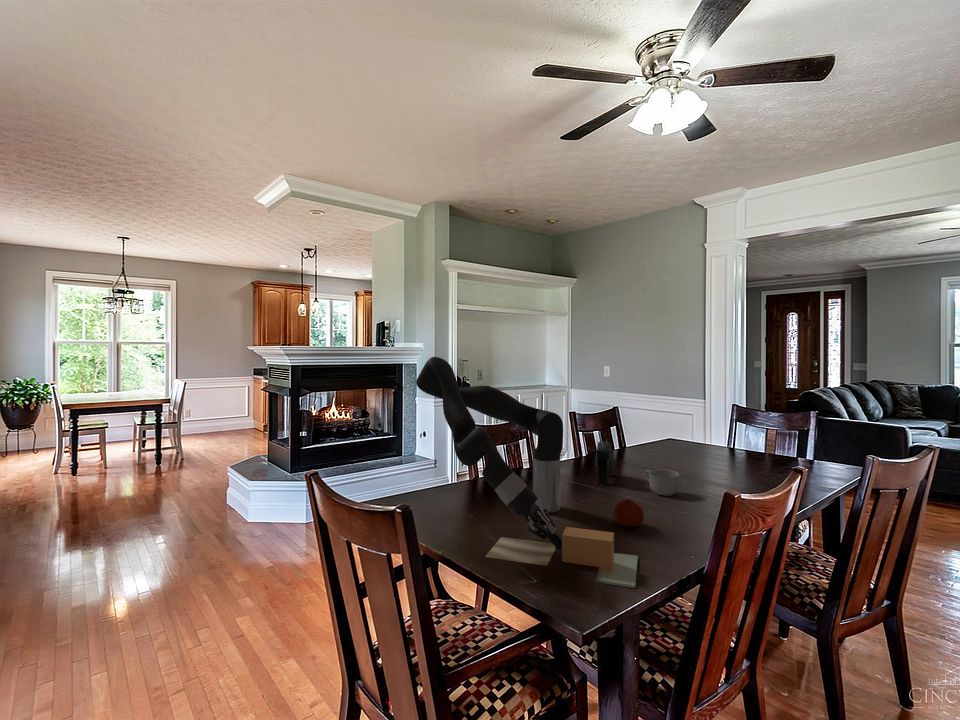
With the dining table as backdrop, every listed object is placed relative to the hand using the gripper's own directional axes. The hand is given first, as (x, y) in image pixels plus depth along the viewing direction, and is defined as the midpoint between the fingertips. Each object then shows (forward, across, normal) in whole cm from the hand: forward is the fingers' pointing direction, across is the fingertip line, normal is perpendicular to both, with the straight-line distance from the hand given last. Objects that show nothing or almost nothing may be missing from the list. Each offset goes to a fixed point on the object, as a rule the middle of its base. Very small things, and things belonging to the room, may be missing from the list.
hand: (562, 546), depth 125 cm
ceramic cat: (+4, -85, -1) cm, 85 cm away
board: (-5, 0, -10) cm, 11 cm away
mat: (+8, 0, +3) cm, 9 cm away
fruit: (+13, -32, +7) cm, 36 cm away
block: (+7, 0, +2) cm, 7 cm away
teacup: (+20, -73, +14) cm, 77 cm away
